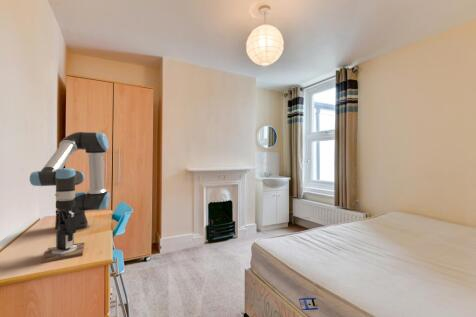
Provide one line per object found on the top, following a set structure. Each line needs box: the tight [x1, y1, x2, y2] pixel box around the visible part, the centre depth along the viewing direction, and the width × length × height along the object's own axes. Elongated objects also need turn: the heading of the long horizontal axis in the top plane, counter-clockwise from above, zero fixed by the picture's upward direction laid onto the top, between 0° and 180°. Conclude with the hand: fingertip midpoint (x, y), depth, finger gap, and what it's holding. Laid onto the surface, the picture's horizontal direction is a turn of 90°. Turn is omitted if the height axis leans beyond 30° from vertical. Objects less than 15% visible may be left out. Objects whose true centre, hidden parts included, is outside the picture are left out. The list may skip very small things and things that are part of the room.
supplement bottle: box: [55, 222, 75, 250], centre depth 109 cm, size 7×7×12 cm
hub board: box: [40, 242, 85, 264], centre depth 109 cm, size 16×15×2 cm
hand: (65, 245), depth 109 cm, fingers closed on supplement bottle, 7 cm apart
